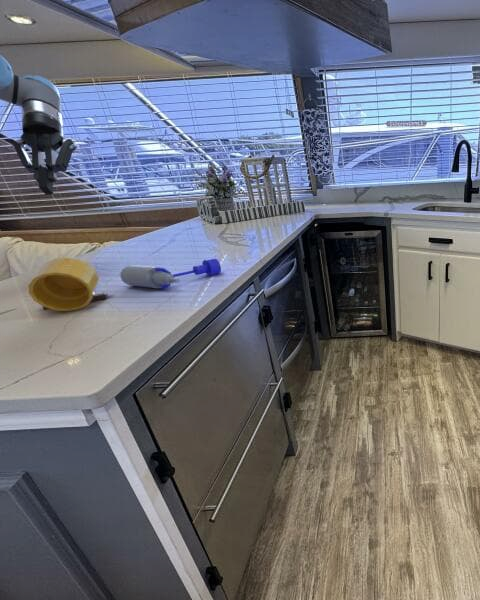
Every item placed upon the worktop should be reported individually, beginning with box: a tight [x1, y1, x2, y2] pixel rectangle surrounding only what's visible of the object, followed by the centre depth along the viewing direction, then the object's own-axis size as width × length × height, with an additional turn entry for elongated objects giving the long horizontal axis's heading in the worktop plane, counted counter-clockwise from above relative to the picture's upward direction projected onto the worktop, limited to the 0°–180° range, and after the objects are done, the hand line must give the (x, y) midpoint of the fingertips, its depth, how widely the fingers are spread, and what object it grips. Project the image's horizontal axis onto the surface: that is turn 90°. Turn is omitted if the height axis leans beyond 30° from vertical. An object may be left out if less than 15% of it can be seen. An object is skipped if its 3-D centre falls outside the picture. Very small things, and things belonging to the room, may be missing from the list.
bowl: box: [28, 257, 100, 312], centre depth 76 cm, size 10×10×8 cm
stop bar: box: [41, 292, 109, 310], centre depth 80 cm, size 12×2×1 cm, turn 119°
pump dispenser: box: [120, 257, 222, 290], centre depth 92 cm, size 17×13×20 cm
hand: (46, 190), depth 82 cm, fingers closed
